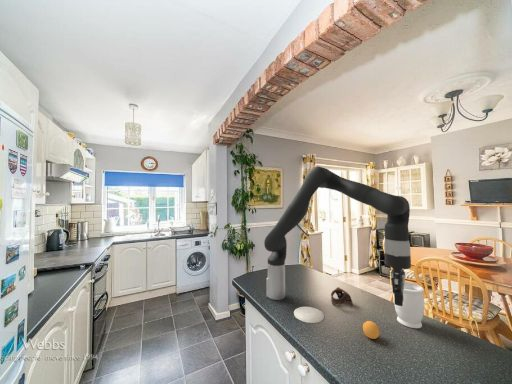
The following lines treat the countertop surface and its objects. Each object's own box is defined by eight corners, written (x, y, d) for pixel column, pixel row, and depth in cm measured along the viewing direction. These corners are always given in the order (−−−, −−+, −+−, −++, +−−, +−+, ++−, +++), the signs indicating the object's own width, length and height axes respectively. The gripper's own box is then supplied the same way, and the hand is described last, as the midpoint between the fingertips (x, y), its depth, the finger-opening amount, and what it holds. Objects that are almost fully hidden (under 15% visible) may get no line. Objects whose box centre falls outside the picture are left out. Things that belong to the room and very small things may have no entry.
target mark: (290, 318, 88) (290, 318, 88) (297, 304, 100) (297, 304, 100) (321, 326, 83) (321, 325, 83) (325, 310, 94) (325, 310, 94)
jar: (416, 333, 78) (415, 293, 78) (388, 319, 87) (387, 283, 88) (430, 325, 82) (428, 287, 83) (402, 313, 92) (401, 279, 92)
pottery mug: (357, 310, 96) (350, 296, 94) (338, 317, 97) (331, 304, 96) (348, 292, 107) (341, 280, 106) (331, 299, 109) (324, 287, 107)
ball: (363, 339, 74) (362, 324, 75) (362, 331, 79) (362, 316, 80) (380, 344, 72) (380, 328, 72) (379, 335, 77) (378, 319, 77)
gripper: (387, 247, 79) (388, 293, 79) (381, 254, 68) (383, 307, 68) (411, 250, 75) (413, 298, 74) (409, 258, 64) (412, 315, 63)
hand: (399, 302), depth 71 cm, fingers open, 3 cm apart
